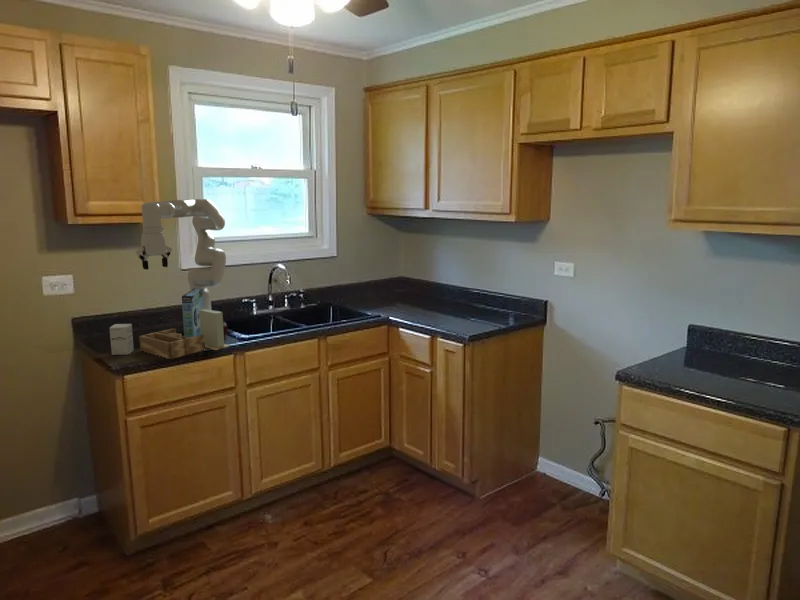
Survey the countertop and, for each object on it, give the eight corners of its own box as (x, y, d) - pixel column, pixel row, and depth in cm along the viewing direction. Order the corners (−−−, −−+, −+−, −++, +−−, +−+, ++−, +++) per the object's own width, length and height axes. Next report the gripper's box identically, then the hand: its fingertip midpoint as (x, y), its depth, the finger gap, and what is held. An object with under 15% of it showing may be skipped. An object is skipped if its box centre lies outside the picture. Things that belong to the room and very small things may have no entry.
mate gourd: (231, 337, 289) (229, 308, 286) (219, 341, 283) (217, 311, 280) (220, 336, 293) (218, 306, 290) (207, 339, 286) (205, 309, 283)
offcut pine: (170, 339, 275) (170, 333, 274) (182, 340, 273) (181, 333, 272) (164, 341, 270) (164, 335, 270) (176, 342, 269) (175, 336, 268)
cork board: (210, 342, 282) (210, 340, 281) (229, 346, 274) (229, 345, 274) (196, 345, 275) (196, 344, 275) (215, 350, 267) (215, 349, 267)
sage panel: (207, 342, 279) (205, 309, 276) (224, 345, 273) (222, 312, 269) (201, 343, 276) (199, 310, 273) (217, 347, 270) (215, 313, 267)
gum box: (195, 333, 299) (192, 288, 295) (206, 332, 299) (203, 288, 295) (184, 343, 280) (180, 295, 276) (195, 342, 280) (191, 295, 276)
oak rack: (175, 342, 281) (174, 328, 280) (205, 349, 268) (204, 334, 267) (140, 351, 266) (139, 336, 265) (170, 359, 254) (168, 343, 253)
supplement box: (111, 355, 260) (108, 327, 257) (117, 350, 267) (114, 323, 265) (128, 354, 260) (126, 327, 258) (134, 350, 268) (132, 323, 265)
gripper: (164, 229, 276) (167, 265, 279) (129, 231, 262) (133, 269, 265) (174, 229, 272) (177, 266, 275) (139, 232, 258) (142, 270, 261)
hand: (155, 268), depth 270 cm, fingers open, 9 cm apart
